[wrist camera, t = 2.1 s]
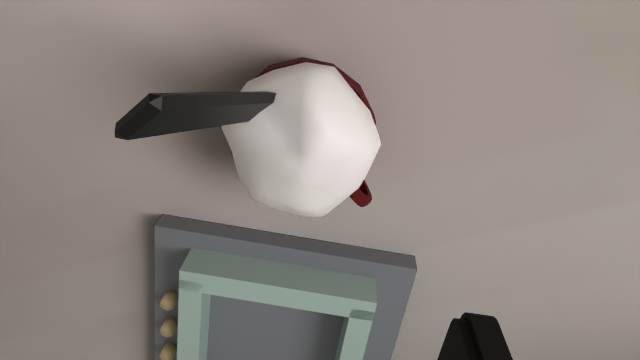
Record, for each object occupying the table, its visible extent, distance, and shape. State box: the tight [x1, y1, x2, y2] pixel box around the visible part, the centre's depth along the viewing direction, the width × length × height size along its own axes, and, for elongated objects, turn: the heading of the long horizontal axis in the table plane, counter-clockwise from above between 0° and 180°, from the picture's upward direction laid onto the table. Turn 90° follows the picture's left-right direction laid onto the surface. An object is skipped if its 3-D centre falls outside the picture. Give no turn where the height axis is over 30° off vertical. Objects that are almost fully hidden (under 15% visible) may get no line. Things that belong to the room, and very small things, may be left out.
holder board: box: [154, 215, 417, 360], centre depth 29 cm, size 14×15×3 cm
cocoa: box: [115, 57, 381, 217], centre depth 18 cm, size 10×6×12 cm, turn 17°
